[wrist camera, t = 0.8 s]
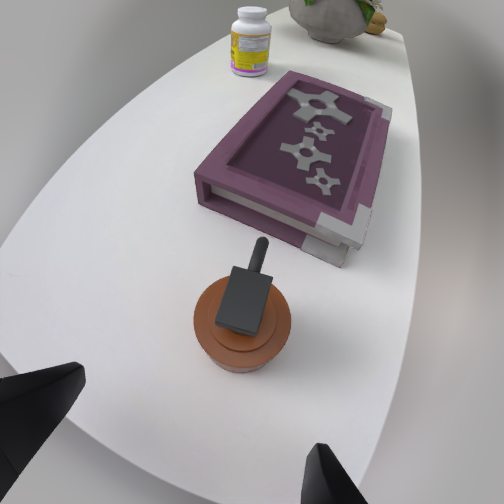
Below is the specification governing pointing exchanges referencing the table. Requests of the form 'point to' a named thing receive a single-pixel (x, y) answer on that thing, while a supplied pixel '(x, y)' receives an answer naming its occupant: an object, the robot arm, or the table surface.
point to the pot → (376, 23)
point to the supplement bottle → (250, 42)
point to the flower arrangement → (333, 17)
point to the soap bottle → (237, 344)
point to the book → (301, 166)
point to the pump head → (245, 295)
